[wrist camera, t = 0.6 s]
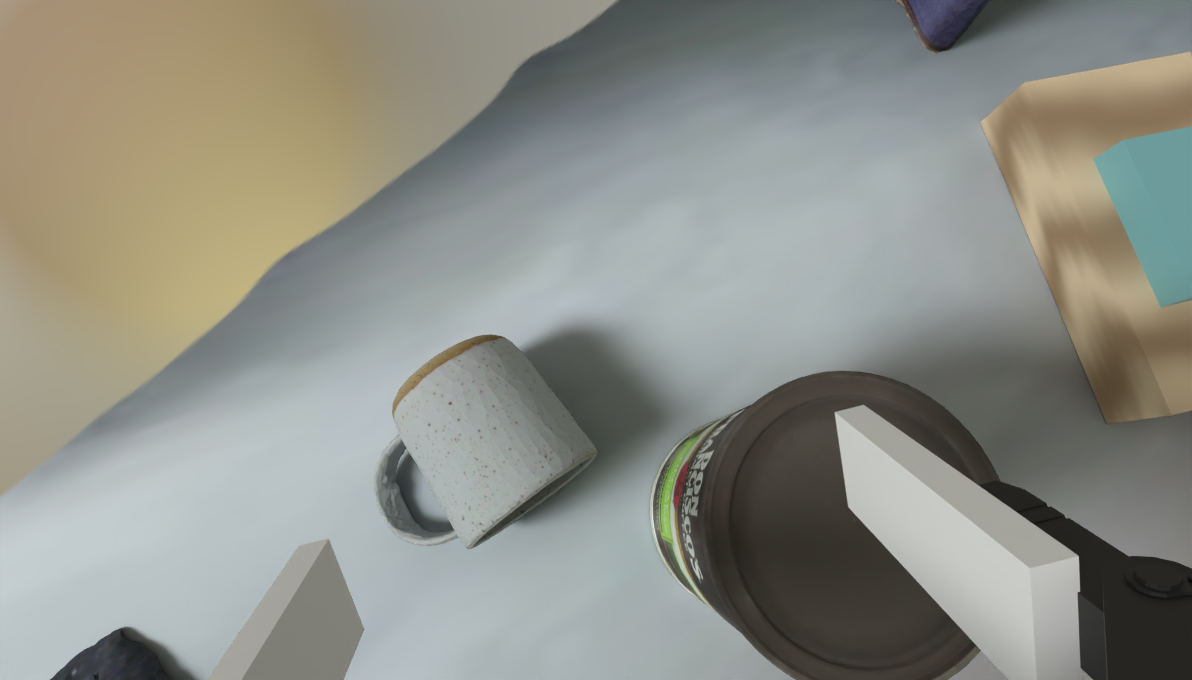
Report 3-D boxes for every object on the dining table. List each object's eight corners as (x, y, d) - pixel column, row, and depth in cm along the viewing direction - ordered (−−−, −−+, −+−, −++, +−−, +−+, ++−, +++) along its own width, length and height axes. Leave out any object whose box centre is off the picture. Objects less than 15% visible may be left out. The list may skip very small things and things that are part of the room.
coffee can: (626, 582, 33) (668, 644, 19) (676, 396, 35) (744, 333, 22) (816, 641, 32) (996, 747, 19) (853, 449, 35) (1035, 420, 21)
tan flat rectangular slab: (1273, 383, 37) (1355, 369, 33) (1107, 424, 36) (1172, 415, 32) (1131, 93, 42) (1190, 52, 38) (980, 122, 40) (1024, 82, 37)
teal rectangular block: (1258, 285, 34) (1299, 272, 32) (1160, 307, 34) (1197, 295, 32) (1186, 140, 36) (1220, 120, 34) (1092, 159, 36) (1123, 139, 34)
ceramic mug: (511, 342, 36) (493, 304, 28) (598, 459, 34) (604, 450, 27) (352, 457, 34) (288, 448, 26) (437, 584, 33) (395, 613, 25)
